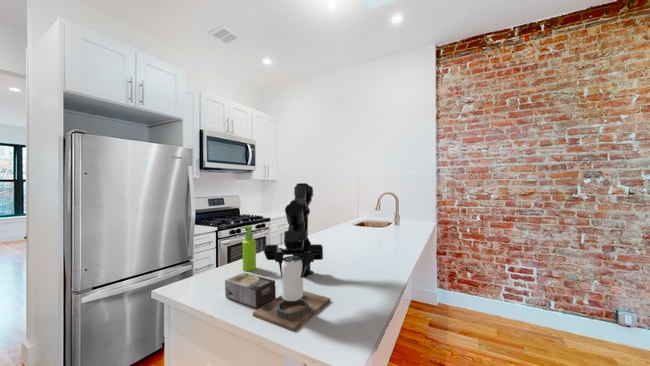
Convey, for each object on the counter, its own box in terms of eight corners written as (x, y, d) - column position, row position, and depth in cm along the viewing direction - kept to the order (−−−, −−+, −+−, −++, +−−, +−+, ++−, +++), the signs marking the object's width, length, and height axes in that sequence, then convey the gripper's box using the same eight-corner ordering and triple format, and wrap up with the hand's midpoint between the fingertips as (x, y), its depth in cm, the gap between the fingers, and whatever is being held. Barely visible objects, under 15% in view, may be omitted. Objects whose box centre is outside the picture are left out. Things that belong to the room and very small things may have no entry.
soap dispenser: (242, 267, 122) (241, 225, 121) (257, 266, 122) (256, 225, 122) (239, 271, 116) (238, 227, 116) (254, 270, 116) (254, 227, 116)
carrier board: (293, 290, 95) (293, 281, 95) (330, 301, 87) (330, 291, 87) (252, 315, 78) (252, 304, 78) (293, 331, 70) (293, 319, 70)
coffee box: (244, 271, 98) (276, 279, 89) (244, 288, 98) (276, 297, 90) (224, 279, 90) (256, 289, 82) (224, 297, 90) (257, 309, 82)
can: (290, 304, 74) (290, 263, 74) (277, 297, 79) (277, 258, 78) (307, 296, 79) (306, 258, 79) (293, 290, 84) (293, 254, 83)
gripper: (264, 220, 82) (255, 265, 72) (322, 219, 82) (321, 265, 71) (270, 238, 91) (263, 281, 80) (323, 238, 90) (322, 281, 79)
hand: (291, 277), depth 77 cm, fingers closed on can, 5 cm apart
